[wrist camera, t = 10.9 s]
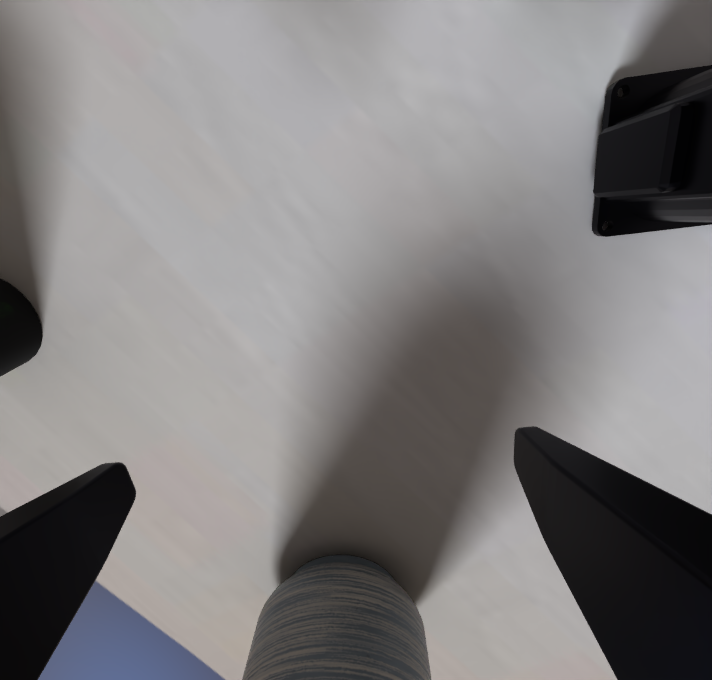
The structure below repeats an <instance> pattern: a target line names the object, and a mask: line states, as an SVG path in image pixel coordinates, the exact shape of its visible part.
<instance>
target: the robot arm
mask: <svg viewBox="0 0 712 680" xmlns="http://www.w3.org/2000/svg"><path fill="white" fill-rule="evenodd" d="M619 88H621V89H622V90H623V97H622V98H619V97H618V94H617V92H618V89H619ZM593 193H594V194H595V203H594V213H593V223H592V231H593V233H594V234H595V235H597V236H605V237H608V236H616V235H625V234H633V233H642V232H650V231H659V230H667V229H676V228H684V227H693V226H701V225H710V224H712V65H710V66H703V67H696V68H689V69H682V70H676V71H669V72H662V73H655V74H648V75H641V76H634V77H627V78H623V79H621V80H619V81H617V82H615V83H613V84H612V85H611V86H610V87H609V89H608V90H607V93H606V96H605V106H604V116H603V125H602V133H601V134H600V135H599V139H598V149H597V159H596V169H595V179H594V189H593ZM606 221H607V222H608V227H607V228H606V229H605V230H603V228H602V226H603V224H604V223H605V222H606ZM514 465H515V469H516V472H517V475H518V477H519V480H520V482H521V484H522V487H523V489H524V492H525V494H526V497H527V499H528V502H529V504H530V507H531V509H532V512H533V514H534V517H535V519H536V522H537V524H538V527H539V529H540V531H541V534H542V536H543V538H544V541H545V543H546V545H547V547H548V549H549V551H550V553H551V554H552V556H553V558H554V560H555V562H556V564H557V566H558V568H559V570H560V571H561V573H562V575H563V577H564V579H565V581H566V583H567V585H568V587H569V589H570V590H571V592H572V594H573V596H574V598H575V600H576V602H577V604H578V606H579V607H580V609H581V611H582V613H583V615H584V617H585V619H586V621H587V623H588V625H589V626H590V628H591V630H592V632H593V634H594V636H595V638H596V640H597V642H598V643H599V645H600V647H601V649H602V651H603V653H604V655H605V657H606V659H607V661H608V662H609V664H610V666H611V668H612V670H613V672H614V674H615V676H616V678H617V680H712V514H710V513H708V512H706V511H704V510H702V509H700V508H698V507H696V506H694V505H692V504H690V503H688V502H686V501H684V500H682V499H680V498H678V497H676V496H674V495H672V494H670V493H668V492H666V491H664V490H662V489H660V488H658V487H656V486H654V485H652V484H650V483H648V482H646V481H644V480H642V479H640V478H638V477H636V476H634V475H632V474H630V473H628V472H626V471H624V470H622V469H620V468H618V467H616V466H614V465H612V464H610V463H608V462H606V461H604V460H602V459H600V458H598V457H596V456H594V455H592V454H590V453H588V452H586V451H584V450H582V449H580V448H578V447H576V446H574V445H572V444H570V443H568V442H566V441H564V440H562V439H560V438H558V437H556V436H554V435H552V434H550V433H548V432H546V431H544V430H542V429H540V428H538V427H523V428H518V429H517V430H516V431H515V439H514ZM135 497H136V490H135V487H134V484H133V482H132V480H131V477H130V475H129V472H128V470H127V468H126V466H125V465H124V464H123V463H120V462H116V463H105V464H102V465H99V466H97V467H96V468H94V469H92V470H90V471H88V472H86V473H84V474H82V475H80V476H78V477H76V478H74V479H72V480H70V481H68V482H66V483H65V484H63V485H61V486H59V487H57V488H55V489H53V490H51V491H49V492H47V493H45V494H43V495H41V496H39V497H37V498H36V499H34V500H32V501H30V502H28V503H26V504H24V505H22V506H20V507H18V508H16V509H14V510H12V511H10V512H8V513H6V514H5V515H3V516H1V517H0V680H38V678H39V677H40V675H41V673H42V671H43V670H44V668H45V666H46V664H47V663H48V661H49V659H50V657H51V656H52V654H53V652H54V651H55V649H56V647H57V646H58V644H59V642H60V640H61V639H62V637H63V635H64V633H65V631H66V630H67V628H68V626H69V625H70V623H71V621H72V620H73V618H74V616H75V614H76V613H77V611H78V609H79V608H80V606H81V604H82V602H83V600H84V599H85V597H86V595H87V594H88V592H89V590H90V588H91V587H92V585H93V583H94V582H95V580H96V578H97V576H98V575H99V573H100V571H101V569H102V567H103V565H104V563H105V561H106V559H107V557H108V555H109V553H110V551H111V549H112V547H113V545H114V543H115V541H116V538H117V536H118V534H119V532H120V530H121V528H122V526H123V524H124V522H125V520H126V518H127V515H128V513H129V511H130V509H131V507H132V505H133V503H134V500H135Z"/></svg>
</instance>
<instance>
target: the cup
mask: <svg viewBox="0 0 712 680" xmlns="http://www.w3.org/2000/svg"><path fill="white" fill-rule="evenodd" d="M41 341H42V329H41V324H40V321H39V318H38V315H37V313H36V312H35V310H34V308H33V307H32V305H31V303H30V302H29V301H28V300H27V299H26V298H25V296H24V295H23V294H22V293H21V292H20V291H18V290H17V289H16V288H15V287H13V286H12V285H11V284H9V283H7V282H6V281H4V280H2V279H0V376H2V375H4V374H6V373H8V372H9V371H11V370H13V369H15V368H17V367H18V366H20V365H22V364H24V363H26V362H27V361H29V360H30V359H31V358H33V357H34V356H35V355H36V354H37V352H38V350H39V348H40V346H41Z"/></svg>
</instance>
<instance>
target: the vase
mask: <svg viewBox="0 0 712 680" xmlns="http://www.w3.org/2000/svg"><path fill="white" fill-rule="evenodd" d="M242 680H431V673H430V666H429V659H428V652H427V645H426V638H425V631H424V625H423V621H422V618H421V616H420V614H419V611H418V609H417V607H416V605H415V604H414V602H413V601H412V599H411V598H410V597H409V595H408V594H407V592H406V591H405V590H404V589H403V588H402V587H401V586H400V585H399V584H398V583H397V582H396V581H395V580H394V579H393V577H392V576H391V575H390V574H389V573H388V572H387V571H386V570H385V569H384V568H382V567H381V566H379V565H378V564H376V563H374V562H371V561H369V560H367V559H364V558H360V557H356V556H350V555H332V556H325V557H321V558H318V559H315V560H312V561H310V562H308V563H306V564H305V565H303V566H302V567H300V568H299V569H298V570H297V571H296V572H295V573H294V574H293V575H292V576H291V577H289V578H288V579H287V580H285V581H284V582H283V583H282V584H281V585H280V586H278V587H277V588H276V590H275V591H274V592H273V593H272V595H271V596H270V597H269V599H268V600H267V601H266V603H265V605H264V607H263V609H262V612H261V614H260V616H259V619H258V622H257V626H256V630H255V634H254V637H253V641H252V645H251V649H250V652H249V656H248V660H247V664H246V668H245V671H244V675H243V679H242Z"/></svg>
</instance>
